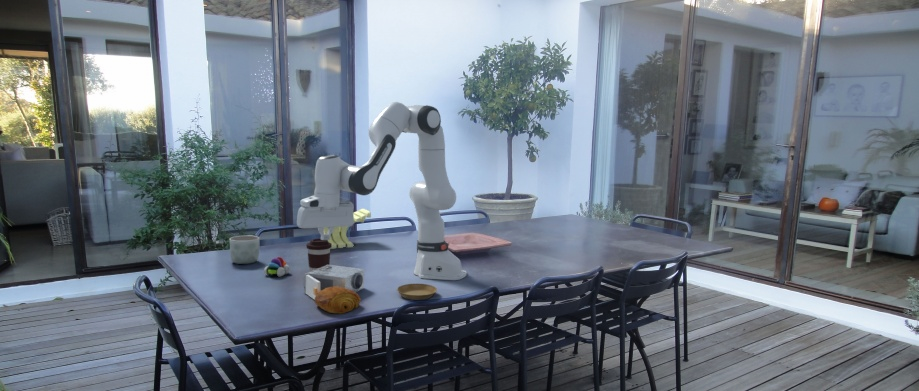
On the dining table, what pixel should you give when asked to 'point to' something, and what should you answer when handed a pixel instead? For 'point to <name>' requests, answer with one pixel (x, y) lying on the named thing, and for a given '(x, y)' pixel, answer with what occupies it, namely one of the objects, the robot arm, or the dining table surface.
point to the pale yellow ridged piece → (339, 233)
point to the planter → (244, 249)
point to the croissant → (337, 299)
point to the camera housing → (339, 277)
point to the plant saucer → (417, 291)
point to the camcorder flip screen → (311, 286)
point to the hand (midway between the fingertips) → (325, 239)
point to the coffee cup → (318, 253)
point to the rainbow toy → (277, 267)
